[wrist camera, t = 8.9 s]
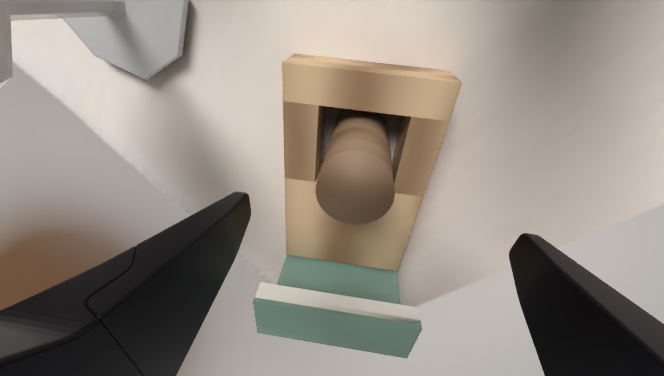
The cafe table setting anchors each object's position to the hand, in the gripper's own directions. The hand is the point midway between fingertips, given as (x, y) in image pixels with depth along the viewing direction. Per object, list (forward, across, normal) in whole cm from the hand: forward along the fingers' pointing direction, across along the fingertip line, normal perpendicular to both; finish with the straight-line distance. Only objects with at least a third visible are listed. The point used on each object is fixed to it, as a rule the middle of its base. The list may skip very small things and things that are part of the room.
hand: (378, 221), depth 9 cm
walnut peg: (+12, +1, +2) cm, 12 cm away
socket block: (+12, +1, +5) cm, 13 cm away
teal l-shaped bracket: (+12, +1, +13) cm, 18 cm away
